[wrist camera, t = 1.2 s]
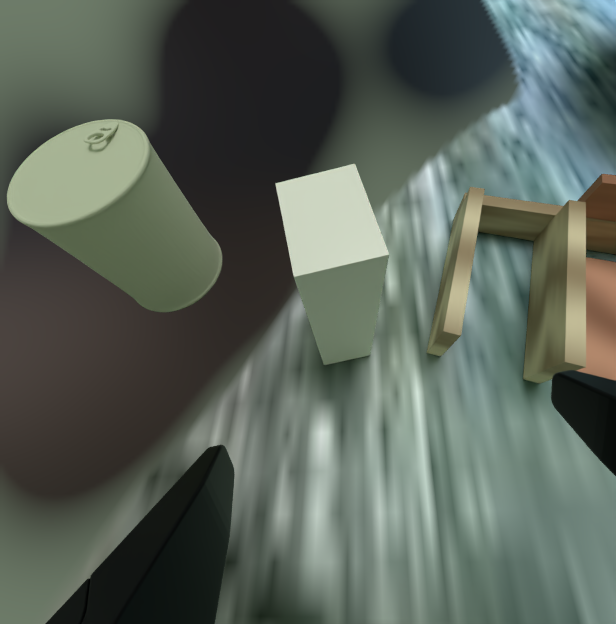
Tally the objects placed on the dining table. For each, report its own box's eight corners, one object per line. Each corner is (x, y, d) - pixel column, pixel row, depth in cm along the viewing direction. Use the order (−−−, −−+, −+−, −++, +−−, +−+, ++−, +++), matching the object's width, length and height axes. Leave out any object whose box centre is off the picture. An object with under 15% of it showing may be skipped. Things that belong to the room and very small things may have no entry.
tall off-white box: (370, 355, 23) (389, 254, 11) (323, 365, 23) (293, 276, 11) (353, 298, 25) (354, 163, 13) (311, 307, 25) (275, 183, 13)
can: (238, 239, 29) (170, 115, 18) (196, 323, 26) (84, 233, 15) (160, 224, 32) (60, 106, 21) (112, 300, 28) (-36, 207, 17)
